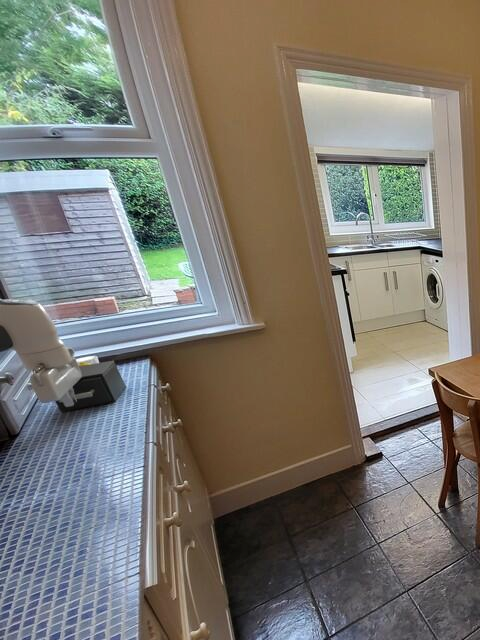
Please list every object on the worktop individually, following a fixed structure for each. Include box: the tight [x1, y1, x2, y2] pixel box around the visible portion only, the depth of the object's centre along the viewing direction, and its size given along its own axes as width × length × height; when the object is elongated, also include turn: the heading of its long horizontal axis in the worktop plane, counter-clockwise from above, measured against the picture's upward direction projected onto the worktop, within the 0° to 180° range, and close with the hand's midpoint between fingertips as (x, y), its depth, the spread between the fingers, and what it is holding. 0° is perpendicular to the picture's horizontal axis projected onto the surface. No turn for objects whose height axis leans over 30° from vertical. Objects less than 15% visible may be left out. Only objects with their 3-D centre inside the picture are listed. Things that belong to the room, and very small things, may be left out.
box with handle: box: [54, 360, 127, 413], centre depth 129 cm, size 14×13×10 cm
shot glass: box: [75, 355, 100, 365], centre depth 148 cm, size 7×7×7 cm
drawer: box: [55, 376, 112, 412], centre depth 126 cm, size 17×11×8 cm
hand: (71, 404), depth 116 cm, fingers closed
